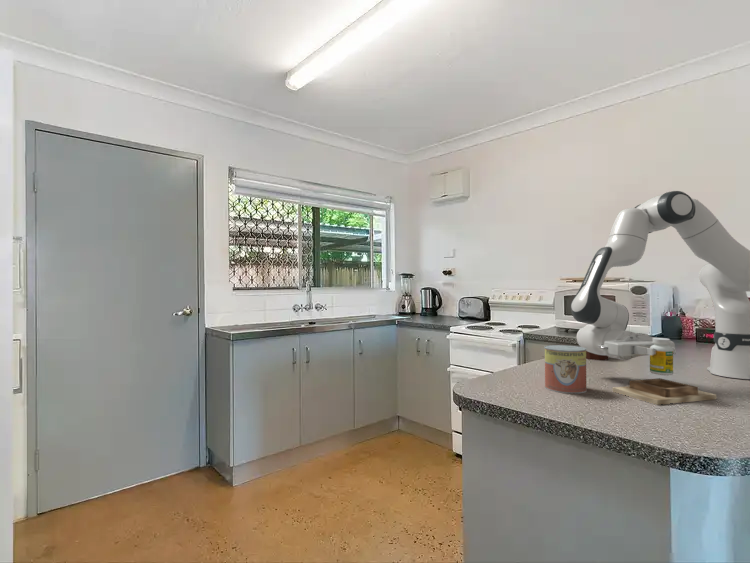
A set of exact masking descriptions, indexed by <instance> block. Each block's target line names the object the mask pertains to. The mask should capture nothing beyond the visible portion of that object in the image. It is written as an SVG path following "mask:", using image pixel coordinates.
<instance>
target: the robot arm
mask: <svg viewBox="0 0 750 563" xmlns="http://www.w3.org/2000/svg"><path fill="white" fill-rule="evenodd" d="M669 227H672V228H674V229H675V230H676V232H677V233H678V235H679V236H680V238H681V239H682V240H683V242H684V243H685V244H686V245H687V246H688V248H689V249H690V250H691V252H692V253H693V254H694V255H695V256H696V257H697V258H698V259H701V260H703V261H705V262H706V263H707V264H705V265H703V266H702V267H701V268H700V270H699V273H698V278H699V282H700V284H702V286H704V287H705V288H706V290H707V292H708V295H710V299H711V301H712V305H713V308H714V323H715V324H714V326H715V328H714V330H715V331H714V332H713V342H714V345H713V346H712V348H711V351H710V352H711V354H710V355H711V356H710V362H709V363H710V364H709V366H707V371H708V372H709V373H710V374H712V375H715V376H718V377H719V376H721V377H725V378H726V377H727V378H733V379H741V380H742V379H743V380H750V299H749V296H748V294H747V292H750V250H749V249H748V248H747V247H745V246H744V245H743V244H741V243H740V242H738V241H737V240H736V239H735V238H734V237H733V236H732V235H731V234H730V232H728V230H727V229H726V228H725V227H724V225H723V224H722V223H721V222H720V221H719V219H718V218H717V217H716V216H715V214H714V213H712V211H711V210H710V209H709V208H708V207H707V206H705V205H704V204H703V203H702V202H701V201H699V200H698V199H696V198H693V197H691V196H690V195H689V194H687V193H685V192H684V191H680V190H673V191H668V192H667V191H666V192H665V193H663V194H659V195H657V196H654V197H651V198H649V199H648V200H646V201H644V202H642V203H640V204H638V205H636V206H635V207H629V208H628V207H627V208H624V209H622V210H621V211H619V213H618V214H617V216H616V217H615V219H614V222H613V224H612V226H611V229H610V233H609V235H608V238H607V242H606V244H605V246H604V247H601V248H599V249H598V250H597V251H596V253H595V254H594V256H593V258H592V260H591V261H590V264H589V266H588V269H587V271H586V273H585V275H584V278H583V280H582V282H581V285H580V287H579V289H578V291H577V292H576V294H575V296H574V297H573V299H572V300H571V302H570V312H571V316H573V317H572V318H574V320H575V321H577V322H579V323H583V324H586V325H585V326H583V327H581V328H579V330H578V331H577V333H576V342H577V344H578V346H579V347H583V348H586V351H588V352H590V353H594V354H598V355H607V356H609V357H608V358H613V359H618V360H623V361H629V360H632V359H635V358H637V357H642V356H650V355H656V354H657V353H656V352H657V350H656V349H654V348H650V347H651V346H652V345H654V344H653V338H657V337H655V336H650V335H649V334H647V333H640V332H639V333H638V332H634V331H629V330H627V328H628V326H629V322H630V313H629V310H628V308H627V307H626V306H625V305H623V304H621V303H619V302H616V301H615V300H611V299H609V298H605V297H603V296H602V295H601V293H600V291H601V288H602V286H603V284H604V281H605V279H606V277H607V274H608V272H609V271H610V270H611V269H613V268H615V267H617V268H618V267H620V268H621V267H628V266H631V265H634V264H636V263H638V262H640V260H641V259H642V258H643V255H644V254H645V251H646V246H647V241H648V236H649V234H651V233H653V232H658V231H663V230H666V229H667V228H669ZM669 346H670V347H672V348H673V355H676V353H677V349H676V344H675V342H674V341H672V340H670V344H669Z"/></svg>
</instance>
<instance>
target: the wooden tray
mask: <svg viewBox="0 0 750 563" xmlns="http://www.w3.org/2000/svg"><path fill="white" fill-rule="evenodd" d="M628 382H629V385H628V386H627V385H625V386H616V387H614V386H613V387H611V388H612V391H613V392H612V393H615V392H616V393H615V394H618V393H619V395H621V394H623V395H622V396H625V395H626V396H625V397H628V396H629V398H631V397H633V398H632V399H635V398H636V399H635V400H638V399H639V401H642V402H645V401H646V402H645V403H648V402H649V404H652V403H653V404H652V405H655V404H656V406H661V404H663V405H671V404H670V403H673V404H682V402H683V403H689V402H691V403H692V402H701V401H711V400H717V399H718V398H717V394H716V393H712V392H707V391H702V390H699V386H695V385H692V384H687V383H683V382H678V381H673V380H668V379H665V378H660V377H659V378H647V379H646V378H645V379H632V380H631V379H630V380H629V381H628Z"/></svg>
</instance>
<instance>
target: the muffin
mask: <svg viewBox="0 0 750 563" xmlns="http://www.w3.org/2000/svg"><path fill="white" fill-rule="evenodd" d="M609 358H610V357H609V356H607V355H598V354H594V353H590V352H588V351H586V360H592V361H593V360H594V361H606V360H608V361H609Z"/></svg>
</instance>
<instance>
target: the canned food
mask: <svg viewBox="0 0 750 563" xmlns="http://www.w3.org/2000/svg"><path fill="white" fill-rule="evenodd" d="M543 348H544V389H545V390H548V391H551V392H555V393H560V394H561V393H563V394H573V393H575V394H584V393H586V392H587V391H588V389H587V359H586V348H583V347H580V346H579V345H578V346H577V345H566V344H565V345H564V344H563V345H562V344H551V345H545V346H544V347H543Z"/></svg>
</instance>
